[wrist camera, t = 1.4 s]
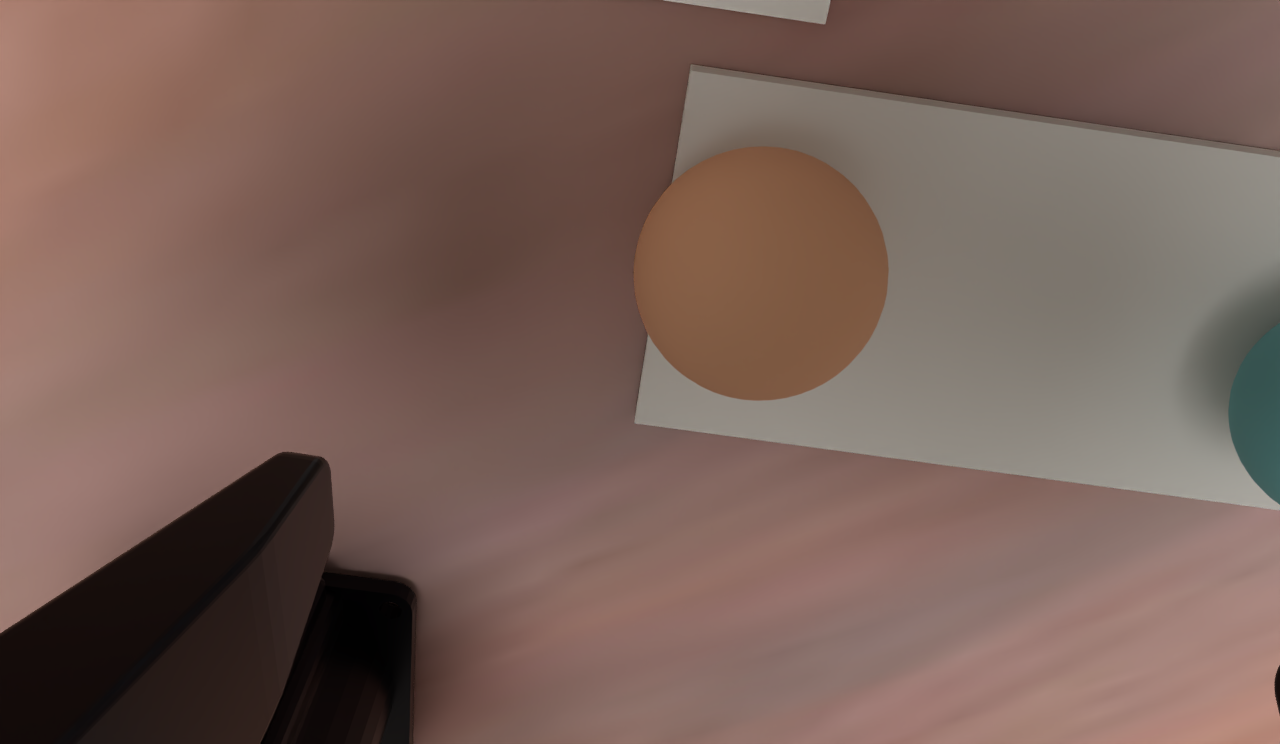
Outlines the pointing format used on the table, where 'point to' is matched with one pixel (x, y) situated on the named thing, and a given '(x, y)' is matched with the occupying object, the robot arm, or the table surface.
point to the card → (772, 8)
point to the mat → (1016, 289)
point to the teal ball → (1259, 413)
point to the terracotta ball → (761, 273)
